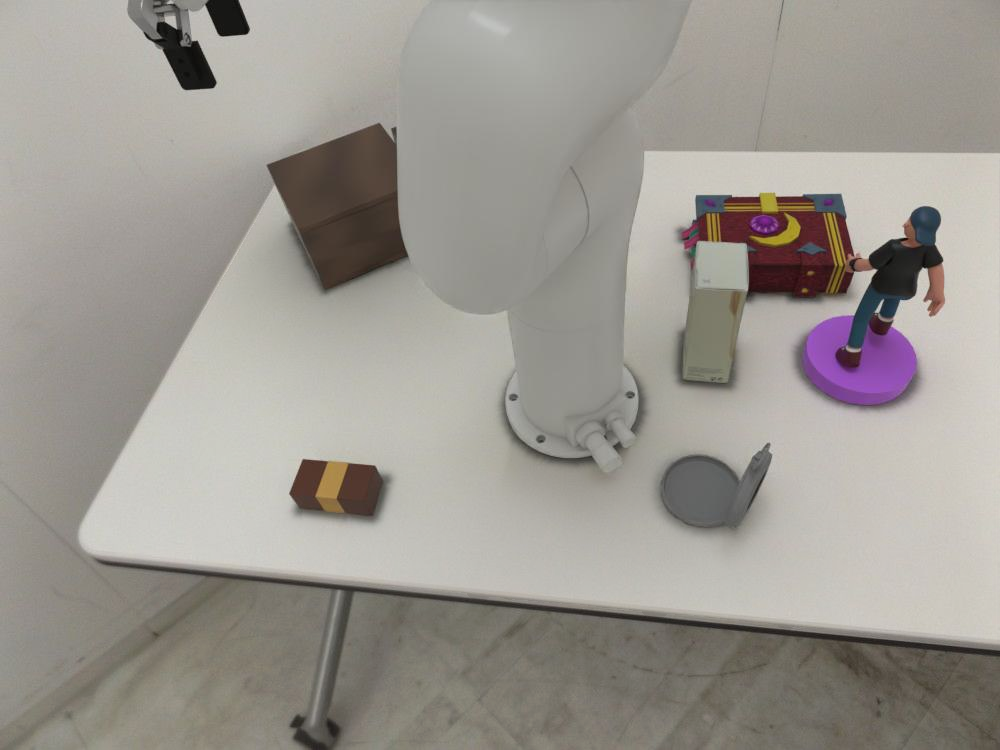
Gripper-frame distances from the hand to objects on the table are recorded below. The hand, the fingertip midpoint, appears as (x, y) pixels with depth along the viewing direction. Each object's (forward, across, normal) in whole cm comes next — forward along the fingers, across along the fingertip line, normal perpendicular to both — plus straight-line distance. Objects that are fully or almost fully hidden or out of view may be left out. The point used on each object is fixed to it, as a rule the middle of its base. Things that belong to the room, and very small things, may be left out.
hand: (218, 59), depth 64 cm
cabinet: (+25, +4, -6) cm, 26 cm away
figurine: (+25, -17, -59) cm, 66 cm away
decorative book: (+25, -3, -52) cm, 58 cm away
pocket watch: (+25, -32, -44) cm, 60 cm away
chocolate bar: (+25, -32, -12) cm, 42 cm away
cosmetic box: (+25, -16, -45) cm, 54 cm away
